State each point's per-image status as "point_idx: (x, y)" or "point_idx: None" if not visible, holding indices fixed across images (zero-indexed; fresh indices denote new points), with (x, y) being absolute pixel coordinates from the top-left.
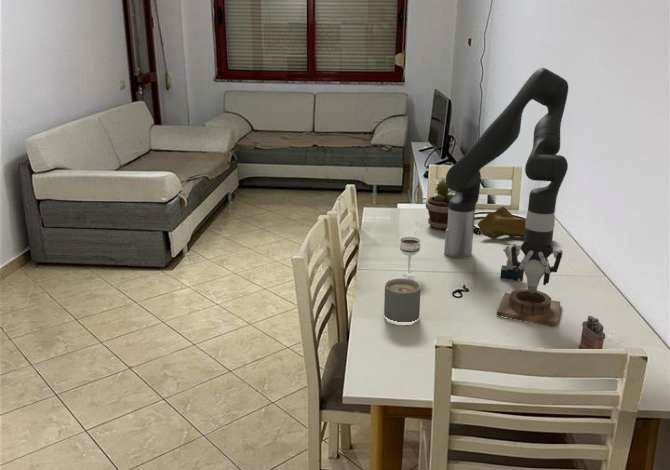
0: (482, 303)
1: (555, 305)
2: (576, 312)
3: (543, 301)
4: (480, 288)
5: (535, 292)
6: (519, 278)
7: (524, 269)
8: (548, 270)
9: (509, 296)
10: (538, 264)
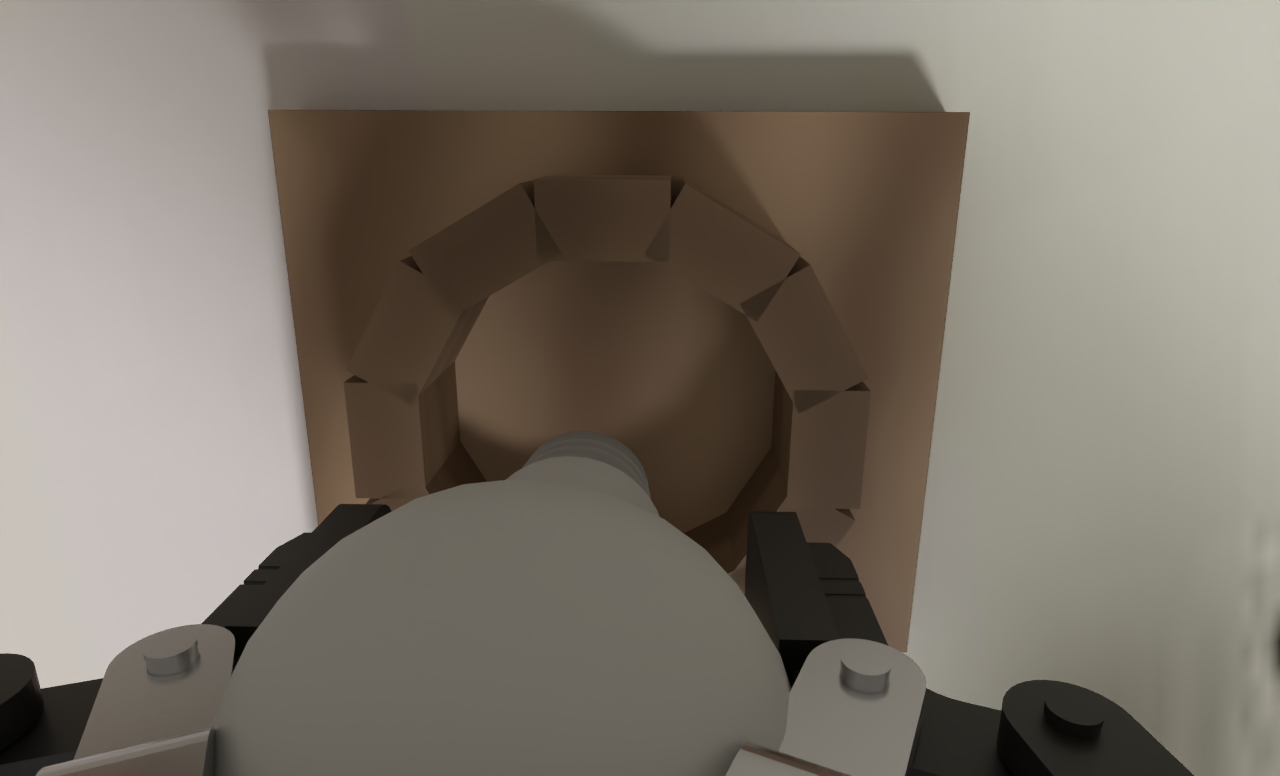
0: (1119, 387)
1: None
2: (189, 535)
3: None
4: (1146, 723)
5: None
6: (810, 549)
7: (757, 618)
8: (140, 675)
9: None
10: (325, 724)
